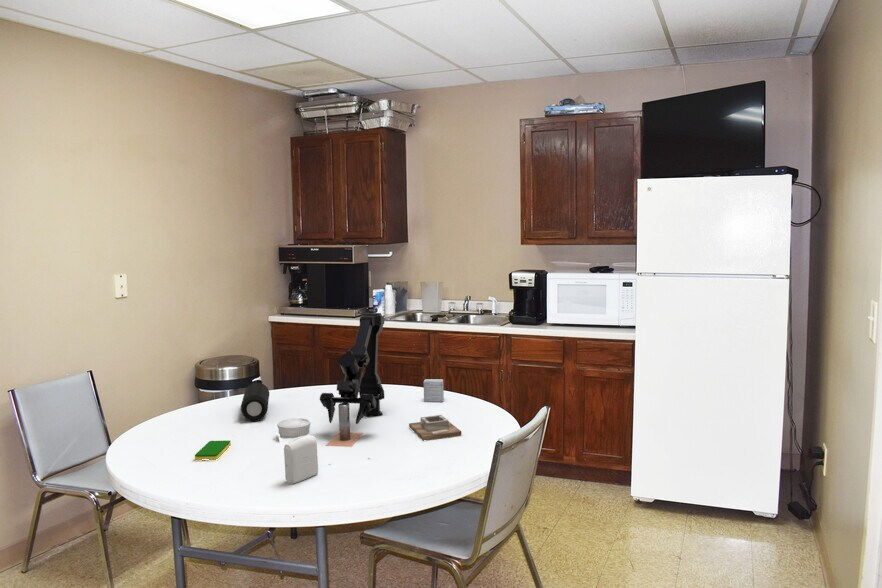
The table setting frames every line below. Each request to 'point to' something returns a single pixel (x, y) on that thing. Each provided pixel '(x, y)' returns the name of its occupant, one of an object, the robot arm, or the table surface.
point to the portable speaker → (255, 402)
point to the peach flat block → (349, 443)
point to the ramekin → (293, 427)
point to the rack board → (434, 428)
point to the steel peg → (344, 421)
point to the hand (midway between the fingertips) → (343, 423)
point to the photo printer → (300, 459)
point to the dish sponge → (212, 450)
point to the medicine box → (433, 390)
